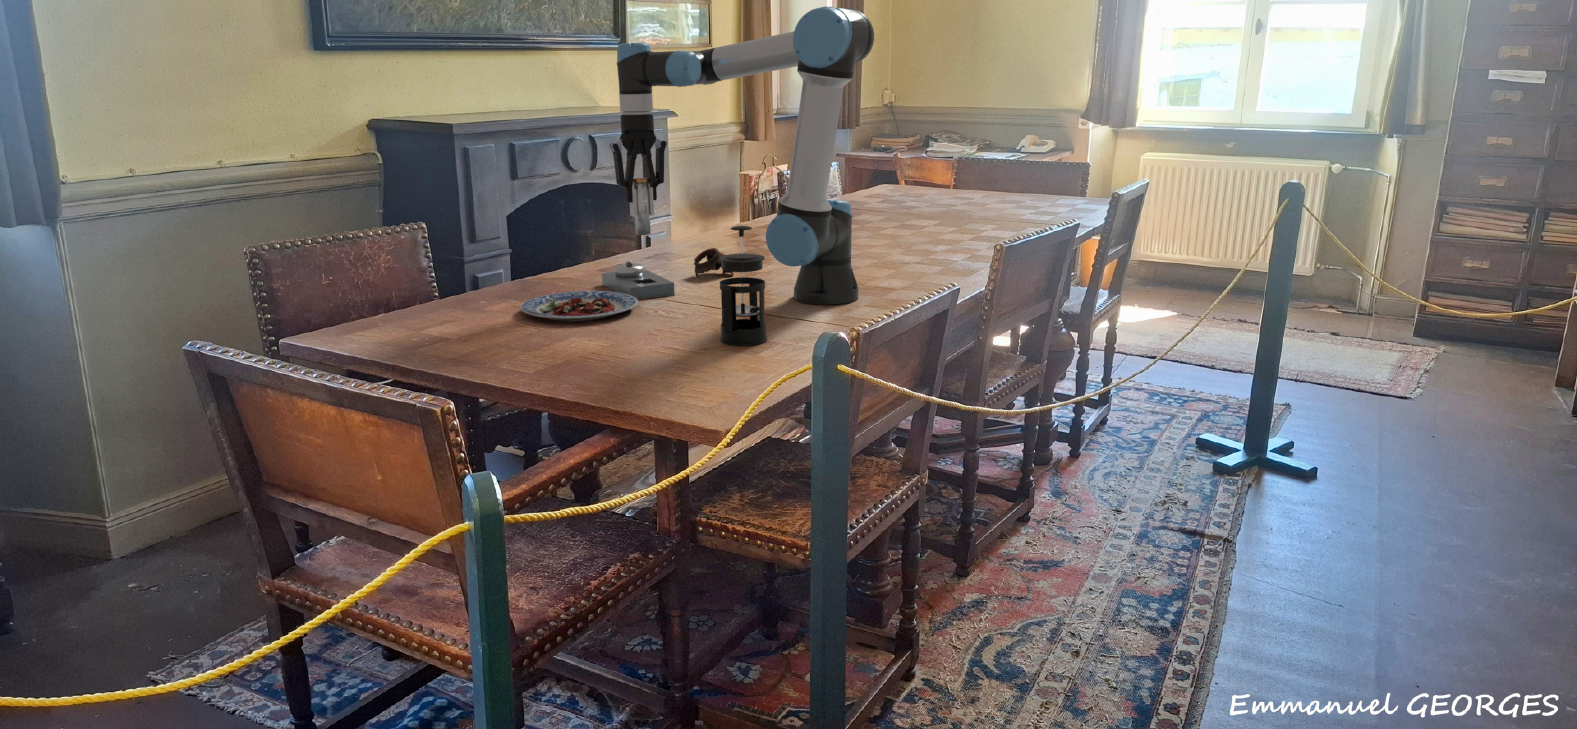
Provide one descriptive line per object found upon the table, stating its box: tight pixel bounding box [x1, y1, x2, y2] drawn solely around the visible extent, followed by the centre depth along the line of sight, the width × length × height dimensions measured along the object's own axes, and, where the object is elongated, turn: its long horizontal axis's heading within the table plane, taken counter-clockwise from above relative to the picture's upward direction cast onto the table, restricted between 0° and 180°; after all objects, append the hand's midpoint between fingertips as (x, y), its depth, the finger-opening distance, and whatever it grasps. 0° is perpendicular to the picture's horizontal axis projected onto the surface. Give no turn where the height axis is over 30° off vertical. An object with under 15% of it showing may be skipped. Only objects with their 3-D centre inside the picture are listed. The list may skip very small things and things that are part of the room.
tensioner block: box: [601, 261, 675, 301], centre depth 263 cm, size 20×11×6 cm, turn 28°
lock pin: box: [632, 177, 652, 236], centre depth 254 cm, size 4×4×13 cm
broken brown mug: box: [693, 247, 735, 278], centre depth 280 cm, size 12×10×8 cm
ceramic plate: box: [520, 290, 639, 322], centre depth 242 cm, size 26×26×3 cm
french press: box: [719, 225, 768, 347], centre depth 214 cm, size 12×9×23 cm
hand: (642, 215), depth 255 cm, fingers closed on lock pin, 3 cm apart
